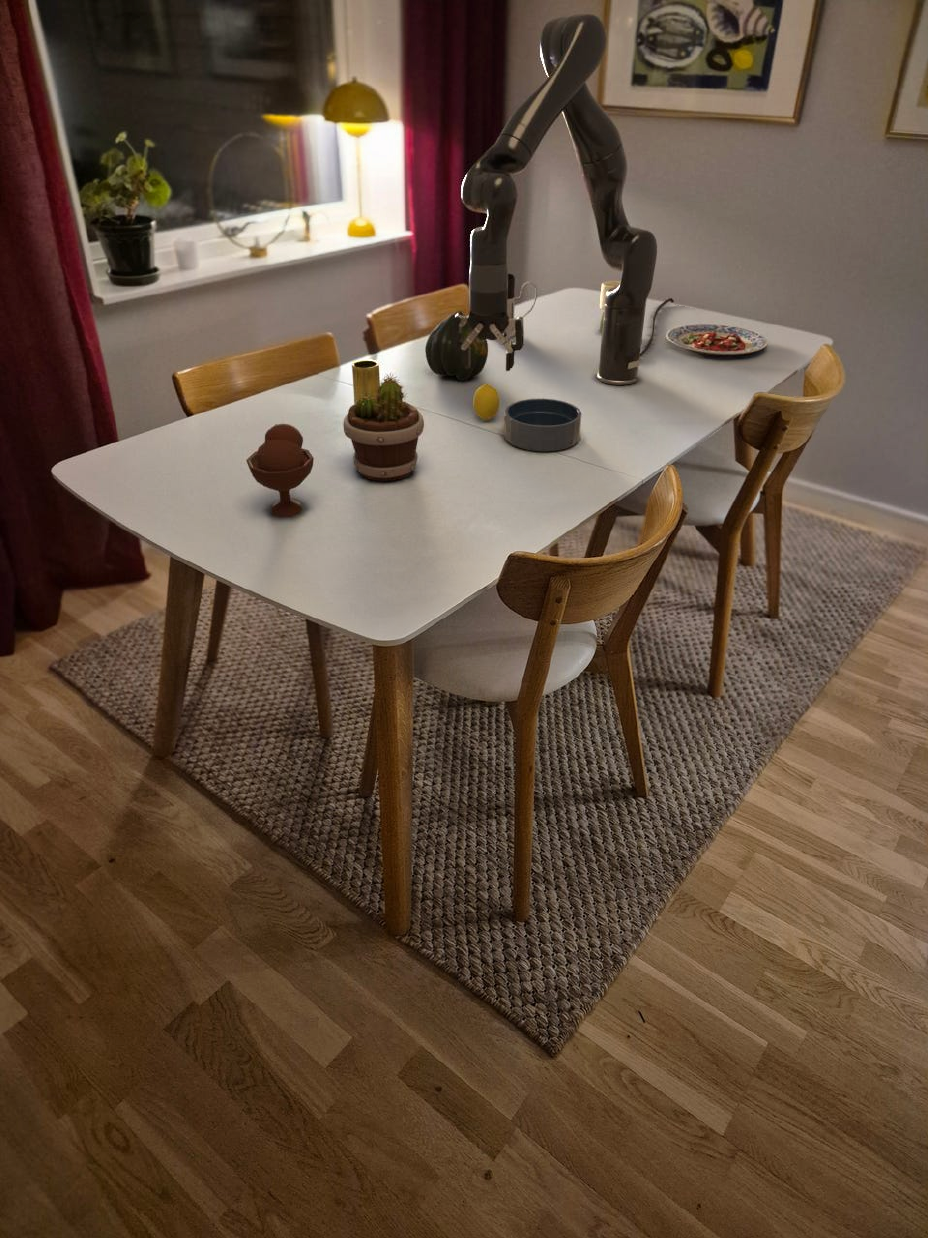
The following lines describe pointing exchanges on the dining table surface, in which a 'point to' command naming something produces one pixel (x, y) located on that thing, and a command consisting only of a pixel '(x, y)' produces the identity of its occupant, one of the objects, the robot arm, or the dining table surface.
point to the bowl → (542, 424)
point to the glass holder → (512, 301)
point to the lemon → (486, 402)
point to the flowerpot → (384, 433)
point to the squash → (454, 351)
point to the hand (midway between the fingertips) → (487, 368)
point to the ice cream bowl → (282, 466)
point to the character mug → (604, 289)
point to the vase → (365, 378)
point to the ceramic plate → (716, 339)
